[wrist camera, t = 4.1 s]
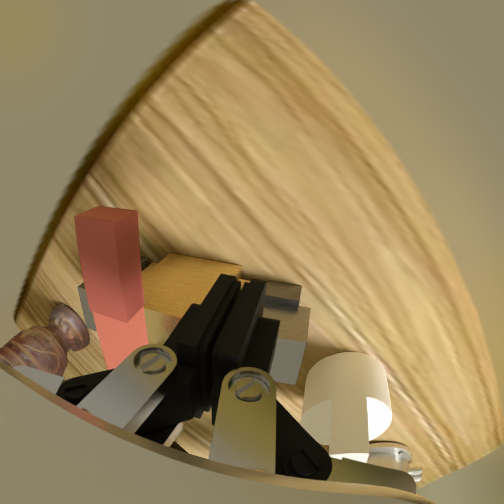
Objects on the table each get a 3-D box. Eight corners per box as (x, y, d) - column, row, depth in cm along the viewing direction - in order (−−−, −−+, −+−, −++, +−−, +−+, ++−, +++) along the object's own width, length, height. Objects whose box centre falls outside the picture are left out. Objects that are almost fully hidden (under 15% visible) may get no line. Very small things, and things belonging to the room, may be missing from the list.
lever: (169, 408, 18) (158, 429, 16) (126, 392, 19) (113, 410, 17) (148, 212, 13) (123, 225, 11) (90, 205, 13) (63, 216, 12)
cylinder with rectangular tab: (304, 353, 29) (288, 453, 18) (390, 348, 27) (408, 447, 16) (306, 406, 32) (293, 492, 21) (380, 403, 30) (385, 490, 19)
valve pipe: (314, 278, 26) (304, 381, 15) (299, 347, 29) (281, 450, 18) (116, 242, 29) (32, 299, 18) (124, 307, 32) (59, 373, 21)
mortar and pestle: (118, 356, 36) (34, 461, 18) (94, 370, 40) (23, 457, 22) (63, 291, 34) (-40, 377, 16) (46, 314, 38) (-38, 389, 20)
